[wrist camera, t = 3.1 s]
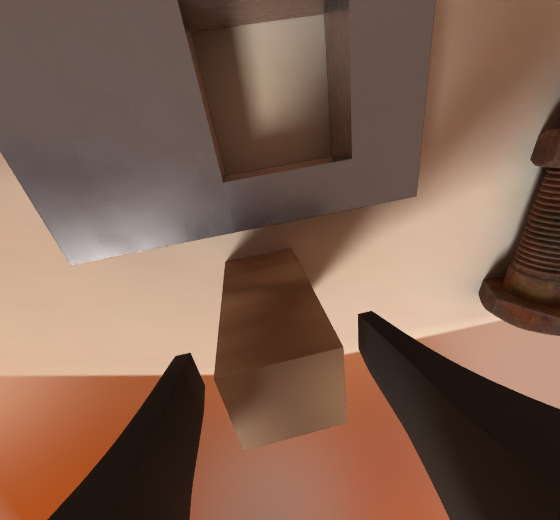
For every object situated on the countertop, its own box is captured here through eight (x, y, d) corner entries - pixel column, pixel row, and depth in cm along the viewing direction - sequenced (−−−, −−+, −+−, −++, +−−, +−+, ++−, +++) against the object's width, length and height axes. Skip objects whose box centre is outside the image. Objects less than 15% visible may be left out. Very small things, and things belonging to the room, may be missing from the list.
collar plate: (99, 244, 13) (70, 265, 10) (-43, -24, 8) (-146, -87, 6) (387, 188, 14) (416, 196, 12) (399, -73, 9) (449, -140, 7)
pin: (240, 315, 16) (243, 450, 9) (225, 262, 14) (214, 378, 7) (299, 301, 16) (347, 422, 9) (291, 248, 15) (343, 347, 7)
